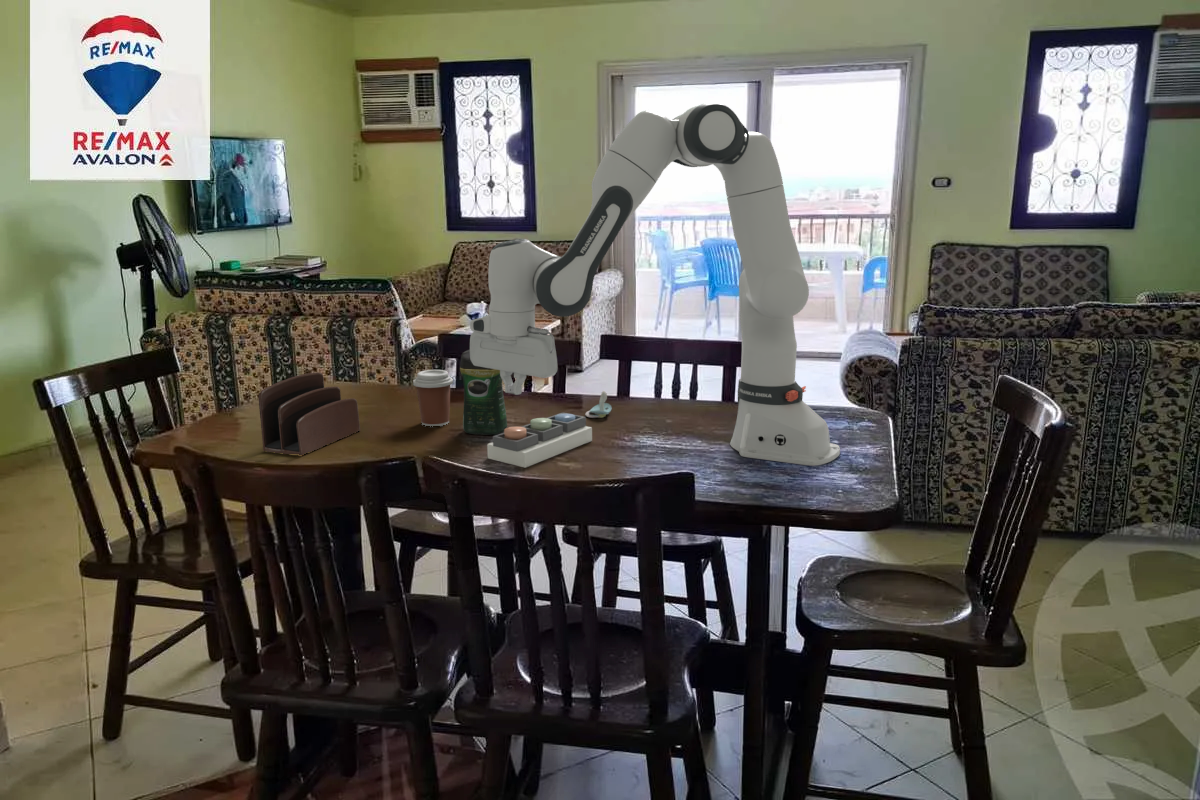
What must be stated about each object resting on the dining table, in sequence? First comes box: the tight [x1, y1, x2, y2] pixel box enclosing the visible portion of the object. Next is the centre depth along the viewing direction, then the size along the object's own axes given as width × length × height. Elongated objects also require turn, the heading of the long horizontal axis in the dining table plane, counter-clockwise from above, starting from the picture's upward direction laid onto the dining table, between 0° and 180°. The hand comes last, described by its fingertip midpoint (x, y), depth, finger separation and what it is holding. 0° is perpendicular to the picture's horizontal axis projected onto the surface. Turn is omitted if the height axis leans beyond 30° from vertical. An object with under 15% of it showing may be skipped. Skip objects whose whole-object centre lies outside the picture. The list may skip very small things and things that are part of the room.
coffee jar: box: [459, 349, 508, 436], centre depth 187 cm, size 10×8×19 cm
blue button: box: [554, 413, 576, 422], centre depth 181 cm, size 4×4×2 cm
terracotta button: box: [503, 426, 527, 440], centre depth 168 cm, size 4×4×2 cm
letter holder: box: [258, 372, 361, 455], centre depth 180 cm, size 10×20×14 cm, turn 159°
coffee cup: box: [412, 369, 454, 428], centre depth 194 cm, size 9×9×12 cm
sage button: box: [529, 417, 552, 431], centre depth 174 cm, size 4×4×2 cm
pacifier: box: [584, 390, 612, 419], centre depth 201 cm, size 7×6×6 cm
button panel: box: [487, 412, 593, 468], centre depth 175 cm, size 10×22×5 cm, turn 144°
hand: (513, 393), depth 166 cm, fingers closed
